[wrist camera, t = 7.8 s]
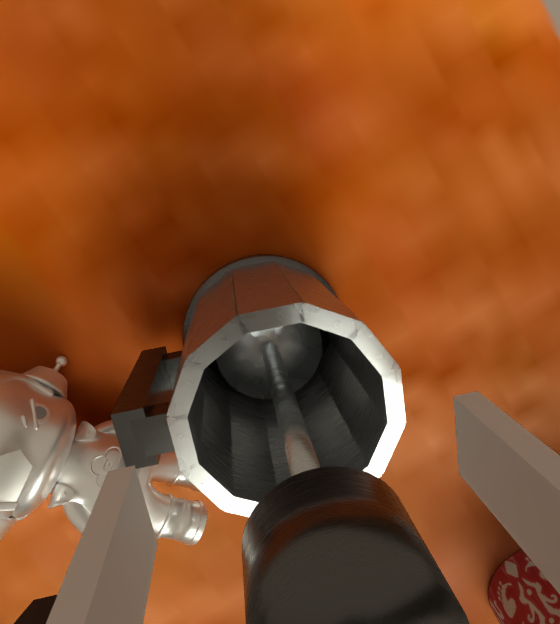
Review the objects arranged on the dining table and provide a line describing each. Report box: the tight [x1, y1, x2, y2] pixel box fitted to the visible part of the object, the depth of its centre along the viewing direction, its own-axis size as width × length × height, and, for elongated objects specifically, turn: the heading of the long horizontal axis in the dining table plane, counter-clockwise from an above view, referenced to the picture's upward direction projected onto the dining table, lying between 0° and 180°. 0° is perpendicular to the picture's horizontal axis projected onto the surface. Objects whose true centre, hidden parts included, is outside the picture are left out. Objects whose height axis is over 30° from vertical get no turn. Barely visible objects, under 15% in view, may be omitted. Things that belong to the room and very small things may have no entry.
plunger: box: [216, 323, 469, 624], centre depth 16 cm, size 6×6×17 cm
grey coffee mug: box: [110, 255, 406, 517], centre depth 22 cm, size 11×9×10 cm
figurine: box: [0, 356, 207, 545], centre depth 24 cm, size 11×7×15 cm
